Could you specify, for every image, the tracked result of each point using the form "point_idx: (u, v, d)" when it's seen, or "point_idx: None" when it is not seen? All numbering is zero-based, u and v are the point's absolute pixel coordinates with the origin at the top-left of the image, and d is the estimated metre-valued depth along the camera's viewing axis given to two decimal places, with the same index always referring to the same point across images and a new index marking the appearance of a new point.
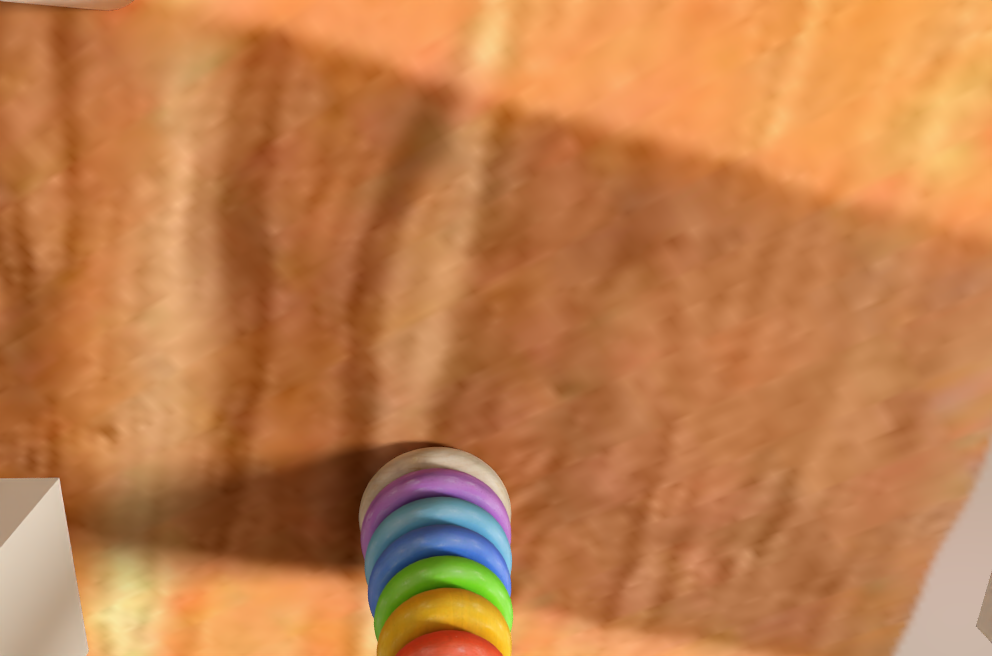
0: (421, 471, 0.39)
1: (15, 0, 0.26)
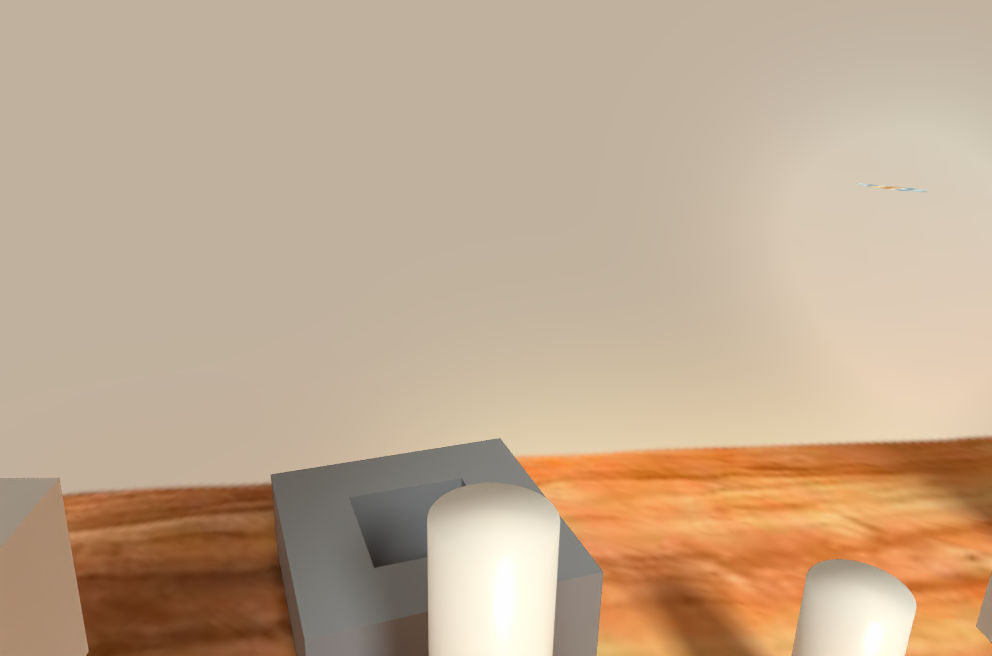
0: None
1: None
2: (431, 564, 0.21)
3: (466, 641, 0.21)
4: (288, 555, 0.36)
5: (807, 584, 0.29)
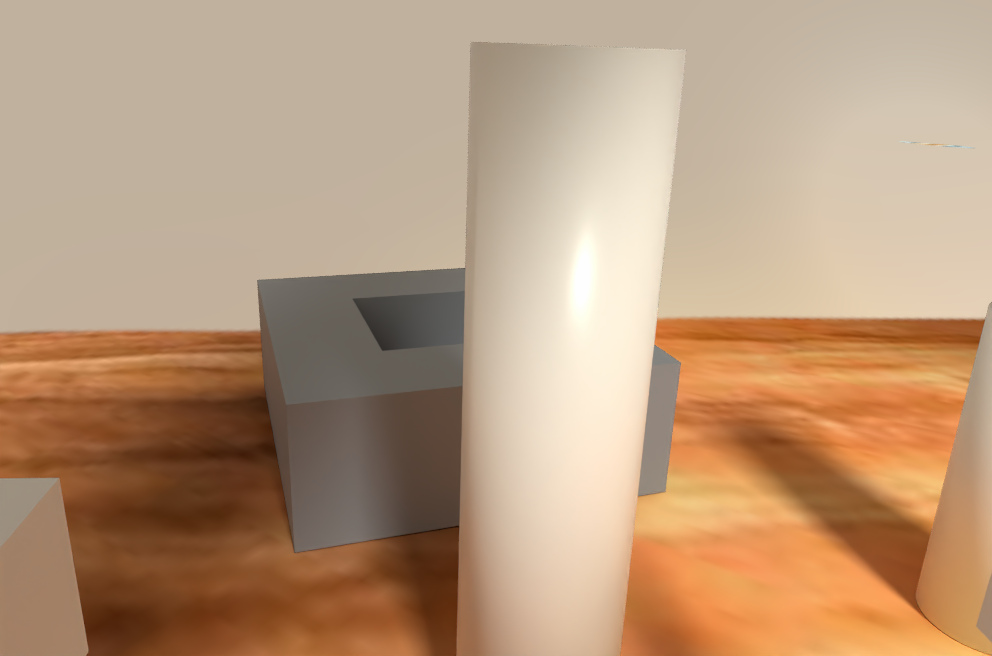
0: None
1: (474, 409, 0.15)
2: (476, 107, 0.13)
3: (532, 223, 0.13)
4: (272, 338, 0.28)
5: None
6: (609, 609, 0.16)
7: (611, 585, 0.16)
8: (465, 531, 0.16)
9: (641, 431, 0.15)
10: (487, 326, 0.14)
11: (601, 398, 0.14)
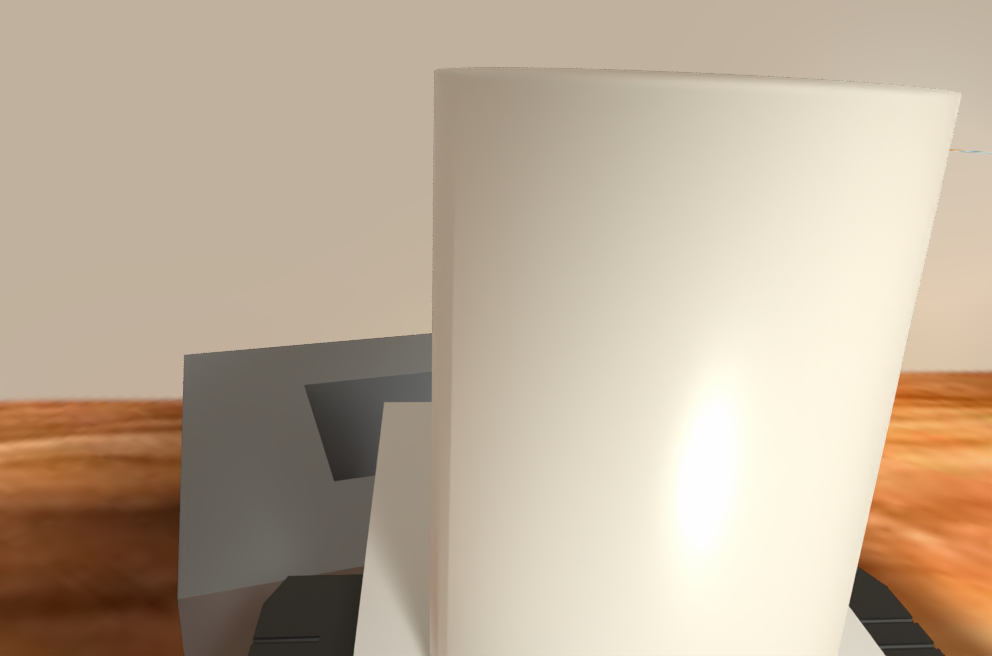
0: None
1: None
2: (448, 229, 0.06)
3: (585, 524, 0.05)
4: (183, 459, 0.20)
5: None
6: None
7: None
8: None
9: None
10: None
11: None
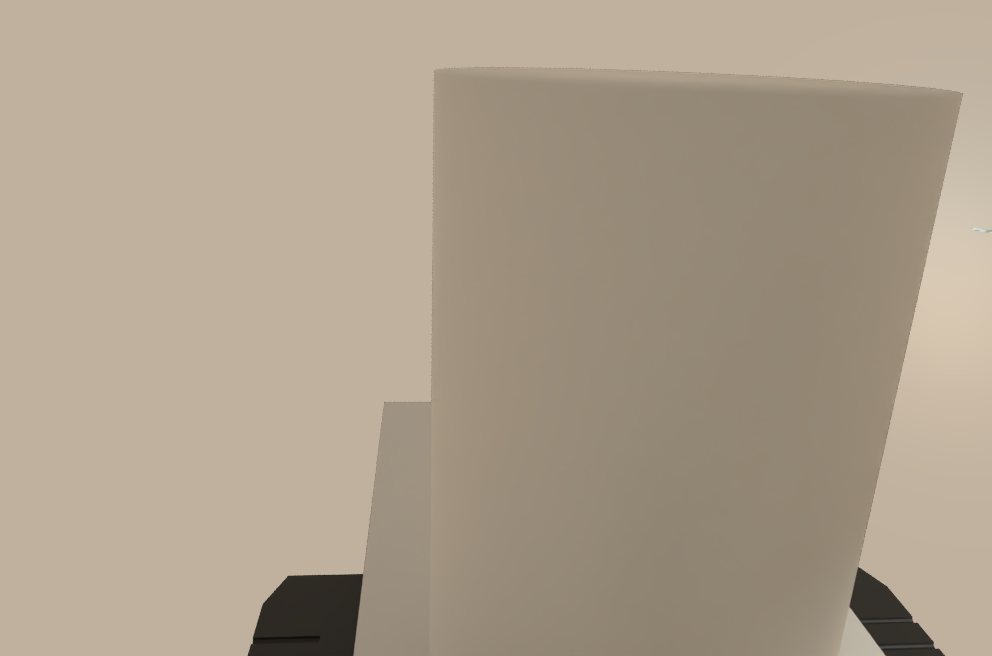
0: None
1: None
2: (447, 229, 0.05)
3: (586, 526, 0.05)
4: None
5: None
6: None
7: None
8: None
9: None
10: None
11: None
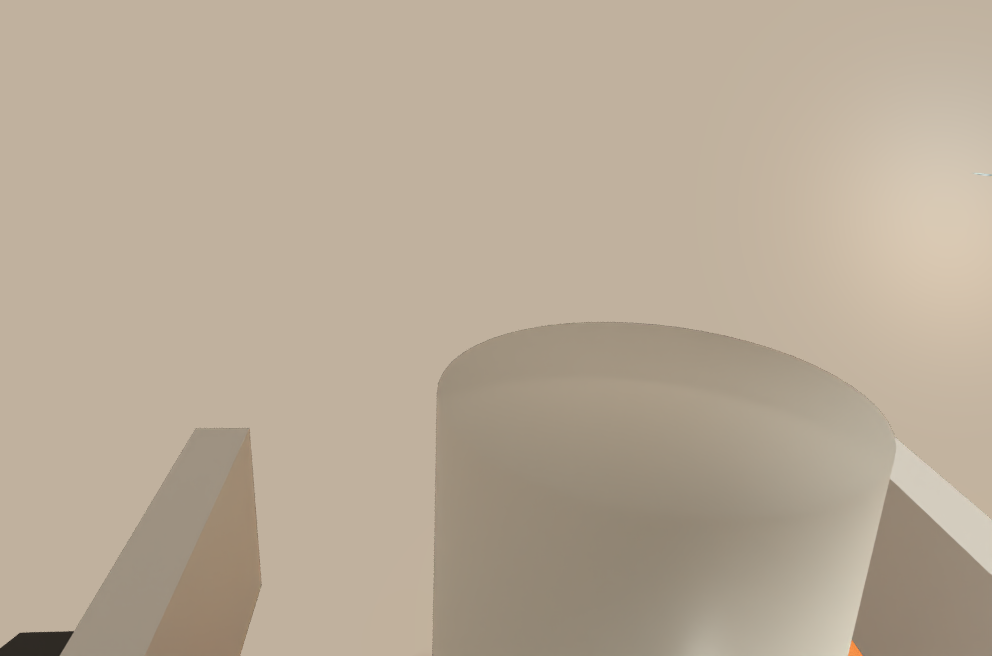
0: None
1: None
2: (448, 542, 0.06)
3: None
4: None
5: None
6: None
7: None
8: None
9: None
10: None
11: None
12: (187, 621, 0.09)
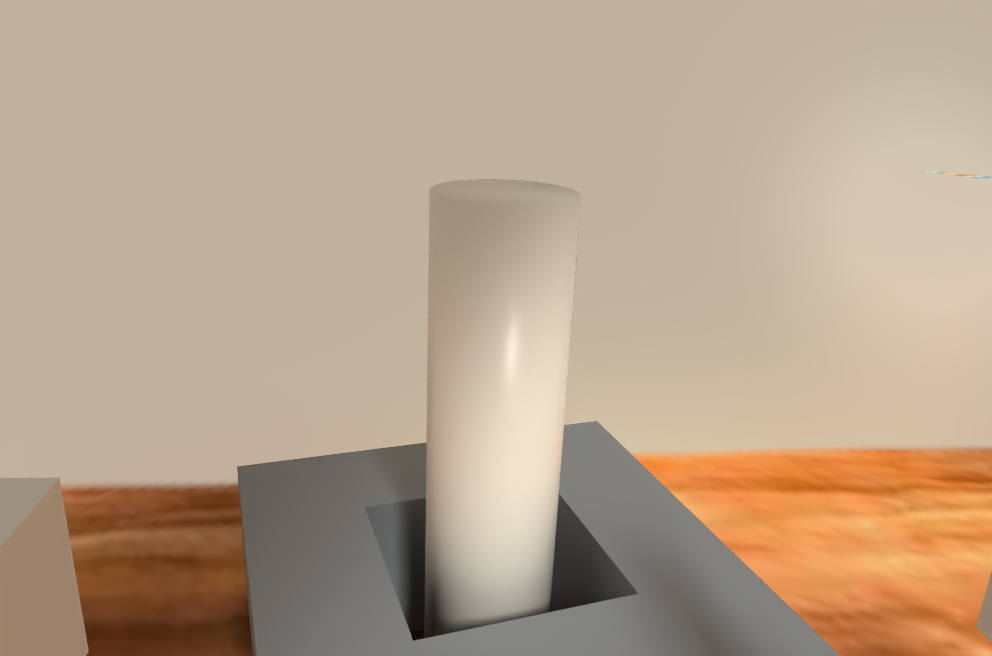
0: None
1: (434, 447, 0.20)
2: (433, 237, 0.19)
3: (471, 321, 0.18)
4: (254, 611, 0.20)
5: None
6: (535, 593, 0.21)
7: (536, 575, 0.21)
8: (429, 535, 0.21)
9: (556, 462, 0.21)
10: (442, 389, 0.19)
11: (523, 441, 0.19)
12: None
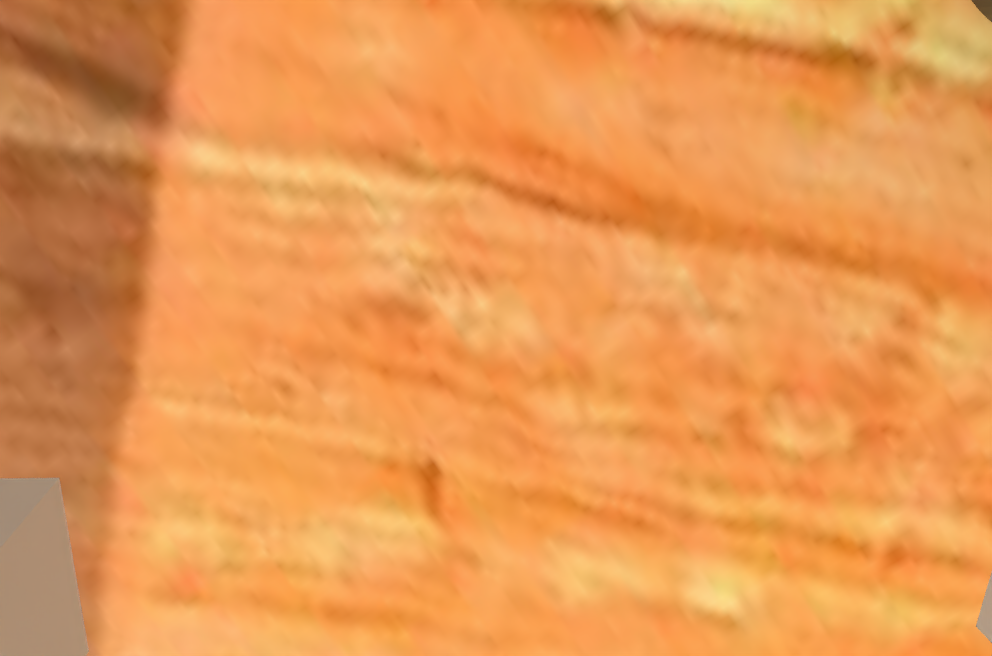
0: None
1: None
2: None
3: None
4: None
5: None
6: None
7: None
8: None
9: None
10: None
11: None
12: None
